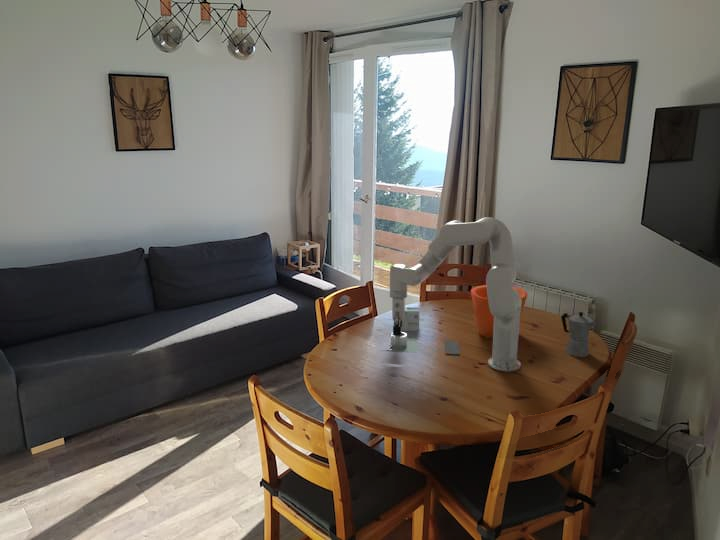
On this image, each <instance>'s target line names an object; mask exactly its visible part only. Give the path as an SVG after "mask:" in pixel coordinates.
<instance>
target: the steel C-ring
mask: <svg viewBox="0 0 720 540" xmlns="http://www.w3.org/2000/svg"><path fill="white" fill-rule="evenodd" d="M390 337H391V345H392V346H393V347H405V346H406V345H407V338H408V333H407V332H404V331H401V337H396V335H393V332H391V333H390Z"/></svg>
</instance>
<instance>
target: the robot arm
mask: <svg viewBox="0 0 720 540" xmlns="http://www.w3.org/2000/svg"><path fill="white" fill-rule="evenodd" d="M487 242H489V255H490V259H491V268H490V269H489V270H488V272H487V274H486V278H485V283H486V284H485V285H486V286H487V294H488V302H489V308H490V311H491V313H492V315H493V316H494V331H493V339H492V356H491V357H490V358H489V359H487V365H488V366H489V367H490V368H492V369H493V370H496V371H500V372H501V371H502V372H515V371H517V370H519V369H521V365H522V363H521V362H520V360H518V348H519V333H520V332H519V331H520V319H521V317H520V312H521V304H522V300H521V296H520V294H519V292H518V291H517V290H515V289H514V288H513V287H514V283H515V281H516V278H517V267H516V260H515V253H514V246H513V239H512V235H511V232H510V230H509V228H508V227H507V225H506V224H505V223H504V222H503V221H501V220H500V219H498V218H494V217H491V216H490V217H489V216H487V217H486V216H485V217H482V218H480V219H478V220H477V221H471V222H463V221H461V220H457V219H455V220H451V221H448V222H446V223H444V224H443V225H442V226H441V227H440V229H439V231H438V234H437V235H436V237H435V238H434V239H433V240H432V241H431V242H430V243H429V244H428V246H427V247H428V249H427V252H426V253H425V254H424V256H422V258H421V259H420V260H419V261H418V262H417V263H416V264H415V265H413V266H410V267H408V266H407V265H406V264H403V263H395V264H392V265H391V266H390V268H389V298H391V314H392V316H391V317H392V321H393V326H392V333H393V335H400V334H401V332H402V331H401V327H402V321H403V320H404V317H405V307H406V298H408V286H410V287H416V286H419V285H420V284H422V282H424V281H426V280H427V279H428V278H429V277H430V276H431V275H432V274H433V272H435V271H436V270H437V268H438V267H439V266H441V264H443V262H444V261H445V259H447V257H448V256H449V255H450V254H451V253H452V252H453V251H454V250H455V249H456V248H457V246H475V245H483V244H486V243H487Z"/></svg>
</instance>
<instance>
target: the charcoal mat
mask: <svg viewBox="0 0 720 540" xmlns="http://www.w3.org/2000/svg"><path fill="white" fill-rule="evenodd" d="M444 353H445V354H452V355H451V356H460V355H461V354H460V353H461V352H460V345H459V341H458V340H444Z"/></svg>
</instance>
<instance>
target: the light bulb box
mask: <svg viewBox="0 0 720 540" xmlns="http://www.w3.org/2000/svg"><path fill="white" fill-rule="evenodd" d="M401 330H402V331H401V332H404V331H409V332H413V331H414V332H420V308H419V306H405V317H404V320H403V321H402V327H401Z"/></svg>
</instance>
